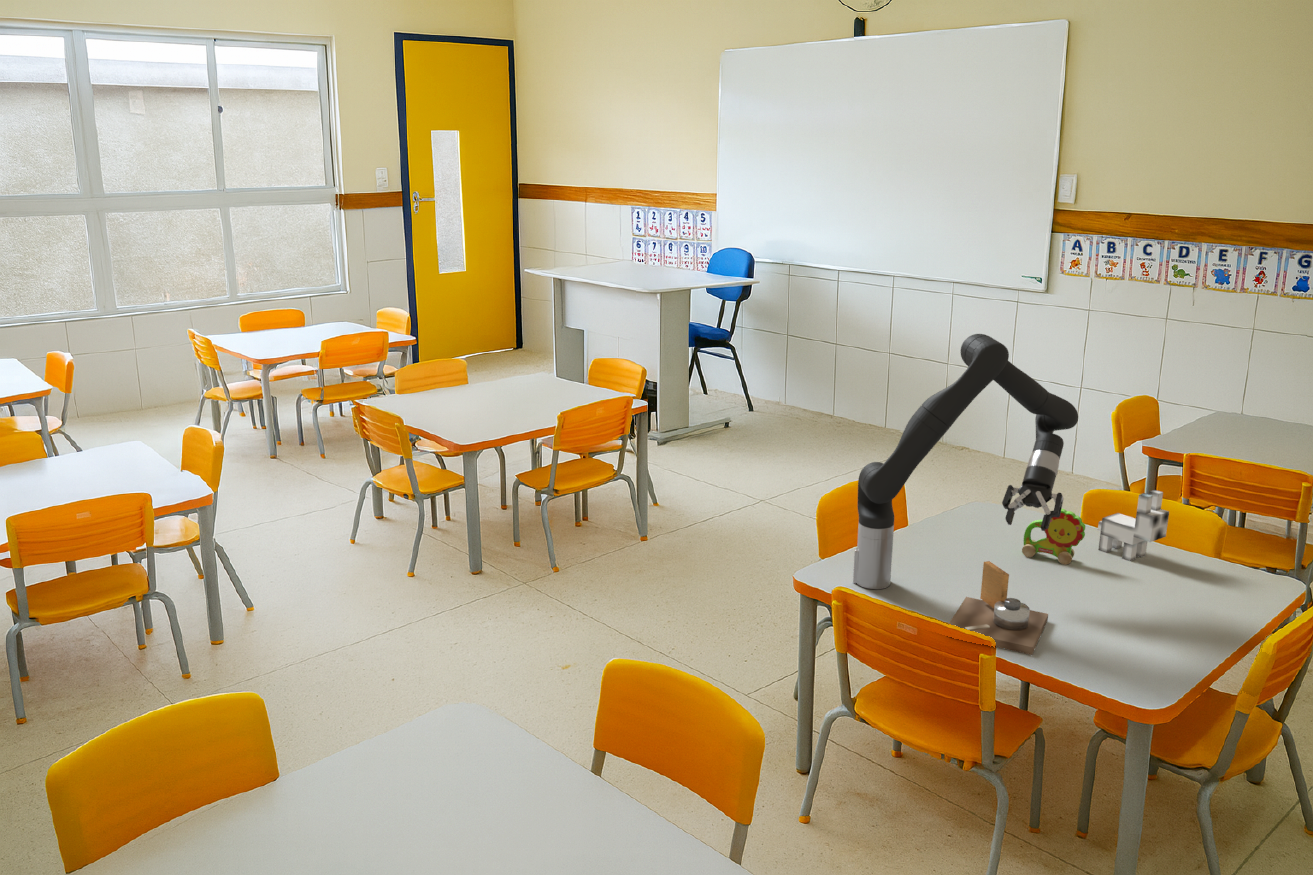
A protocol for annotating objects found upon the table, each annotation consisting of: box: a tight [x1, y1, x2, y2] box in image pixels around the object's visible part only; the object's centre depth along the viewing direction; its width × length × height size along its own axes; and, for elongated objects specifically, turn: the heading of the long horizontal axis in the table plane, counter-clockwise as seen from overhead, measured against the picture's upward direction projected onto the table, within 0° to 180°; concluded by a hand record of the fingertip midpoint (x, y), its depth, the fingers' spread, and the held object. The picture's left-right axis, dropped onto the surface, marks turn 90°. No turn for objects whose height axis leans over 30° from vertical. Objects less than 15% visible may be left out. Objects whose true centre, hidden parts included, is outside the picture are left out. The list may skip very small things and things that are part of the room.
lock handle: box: [980, 560, 1031, 630], centre depth 242 cm, size 16×8×11 cm, turn 15°
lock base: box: [948, 596, 1049, 656], centre depth 241 cm, size 20×20×2 cm
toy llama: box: [1097, 489, 1170, 562], centre depth 283 cm, size 8×18×20 cm, turn 33°
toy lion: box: [1021, 508, 1086, 566], centre depth 281 cm, size 16×5×15 cm, turn 58°
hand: (1025, 526), depth 254 cm, fingers open, 8 cm apart
